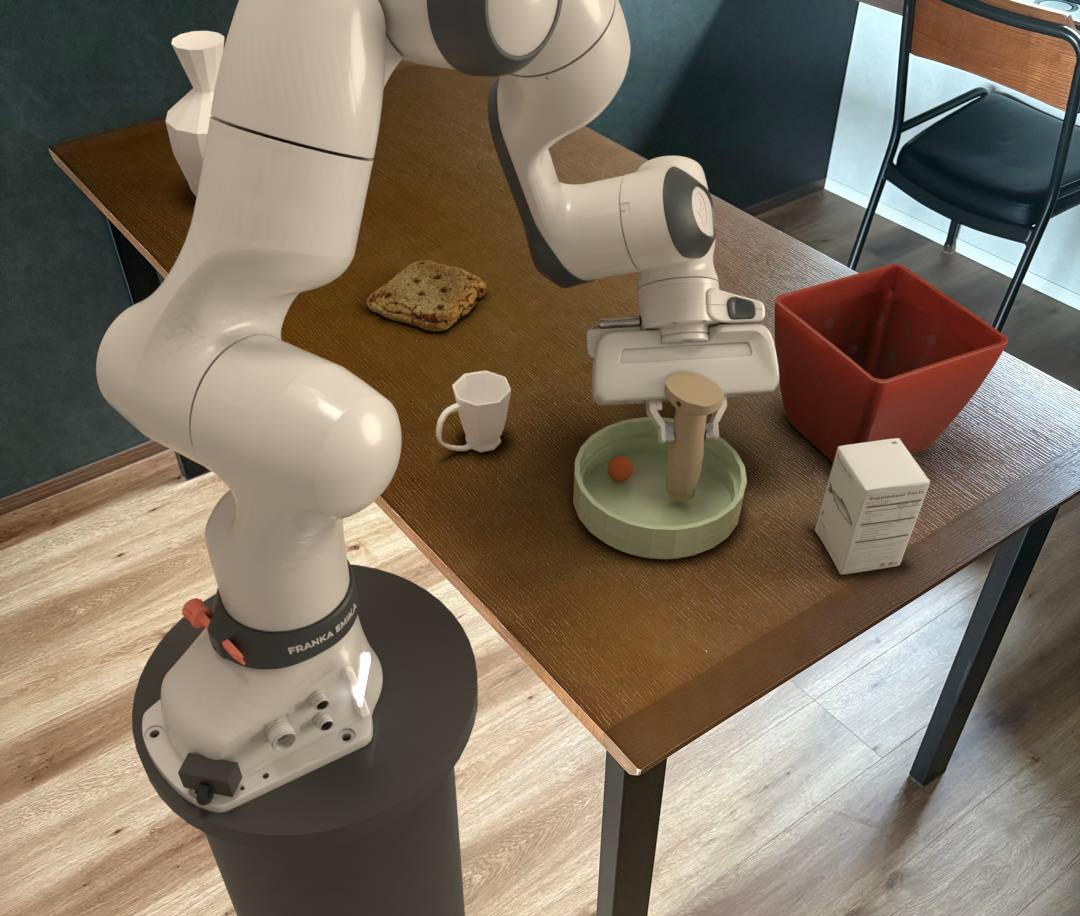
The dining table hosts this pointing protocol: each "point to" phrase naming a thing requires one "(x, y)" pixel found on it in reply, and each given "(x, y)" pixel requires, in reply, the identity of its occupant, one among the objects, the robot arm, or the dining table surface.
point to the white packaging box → (871, 505)
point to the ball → (620, 468)
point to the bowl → (655, 494)
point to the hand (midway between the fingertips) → (689, 441)
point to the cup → (478, 410)
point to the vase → (194, 100)
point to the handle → (688, 430)
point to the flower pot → (879, 359)
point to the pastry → (427, 295)
